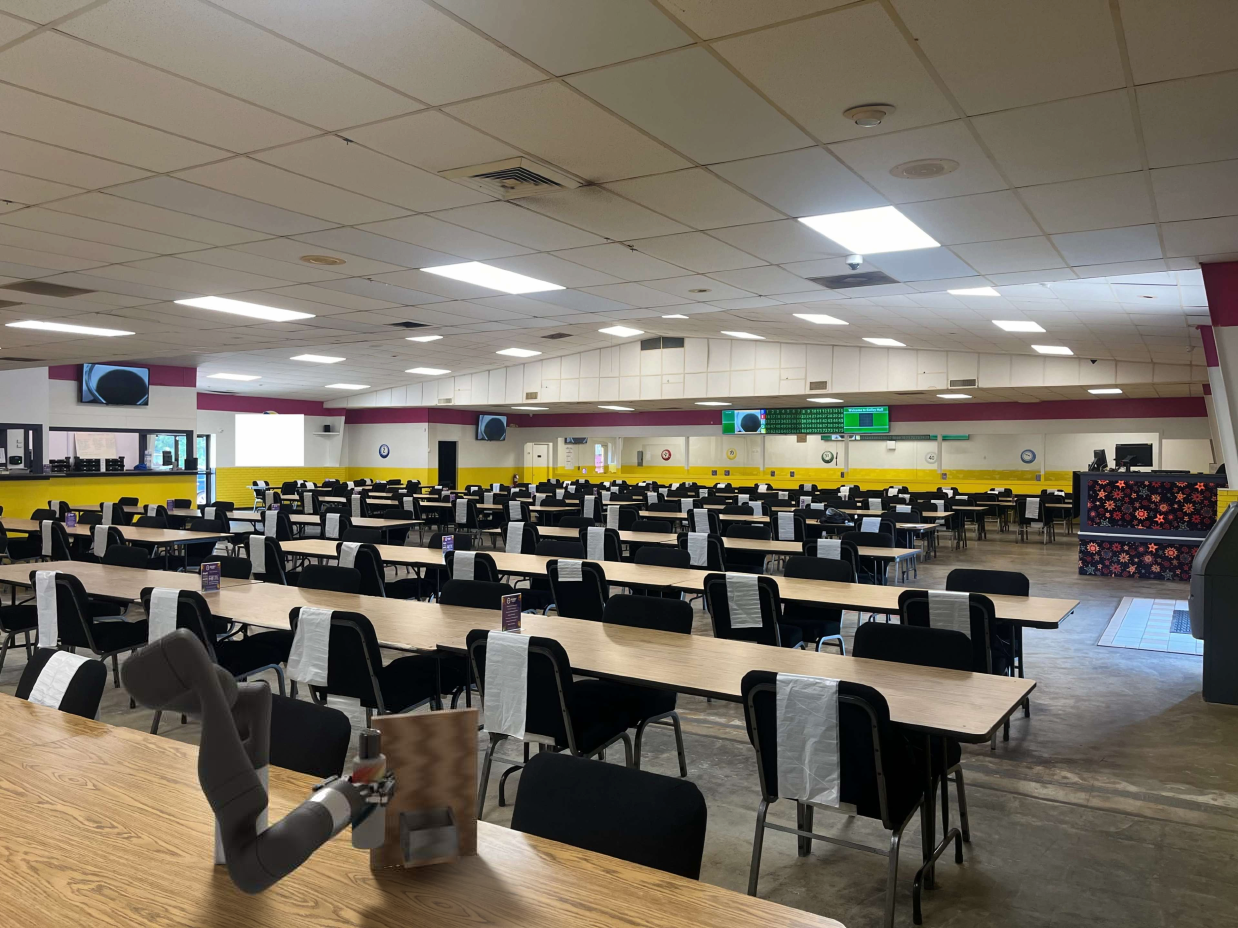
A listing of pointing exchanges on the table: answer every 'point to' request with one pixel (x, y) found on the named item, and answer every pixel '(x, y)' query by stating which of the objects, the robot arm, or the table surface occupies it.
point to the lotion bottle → (366, 767)
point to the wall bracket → (429, 787)
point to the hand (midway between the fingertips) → (375, 775)
